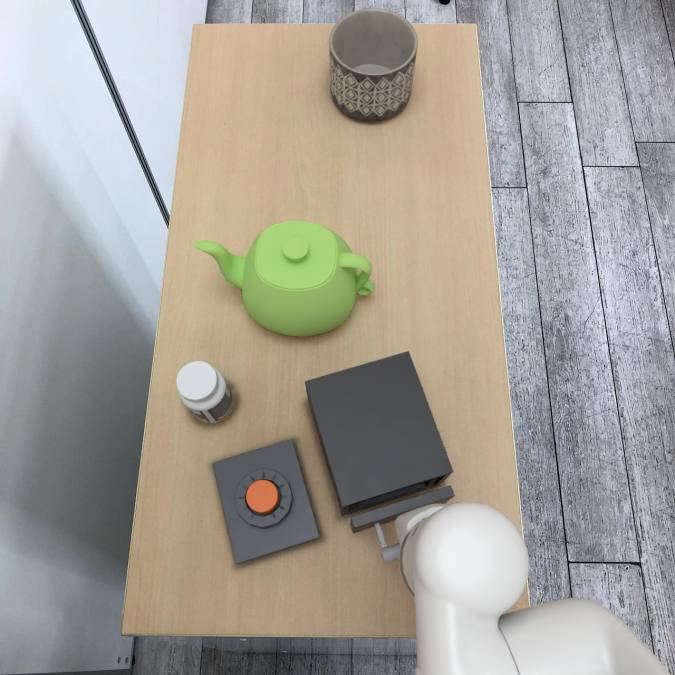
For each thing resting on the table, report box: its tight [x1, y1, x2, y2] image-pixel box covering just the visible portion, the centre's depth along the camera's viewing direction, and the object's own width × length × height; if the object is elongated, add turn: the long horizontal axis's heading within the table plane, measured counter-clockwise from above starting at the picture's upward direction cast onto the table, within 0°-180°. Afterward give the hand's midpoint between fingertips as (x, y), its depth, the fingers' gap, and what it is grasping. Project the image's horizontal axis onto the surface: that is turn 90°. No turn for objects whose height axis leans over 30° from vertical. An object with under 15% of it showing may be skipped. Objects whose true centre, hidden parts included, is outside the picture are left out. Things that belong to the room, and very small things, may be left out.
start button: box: [246, 480, 279, 514], centre depth 72 cm, size 4×4×2 cm
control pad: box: [212, 438, 321, 565], centre depth 74 cm, size 12×10×4 cm
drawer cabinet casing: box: [304, 350, 454, 517], centre depth 74 cm, size 15×13×10 cm
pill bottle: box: [175, 360, 236, 424], centre depth 76 cm, size 6×6×10 cm
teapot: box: [193, 220, 375, 337], centre depth 80 cm, size 22×15×13 cm
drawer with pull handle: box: [349, 477, 456, 565], centre depth 73 cm, size 18×11×8 cm, turn 17°
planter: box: [328, 7, 419, 122], centre depth 94 cm, size 13×13×10 cm
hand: (418, 564), depth 69 cm, fingers closed
